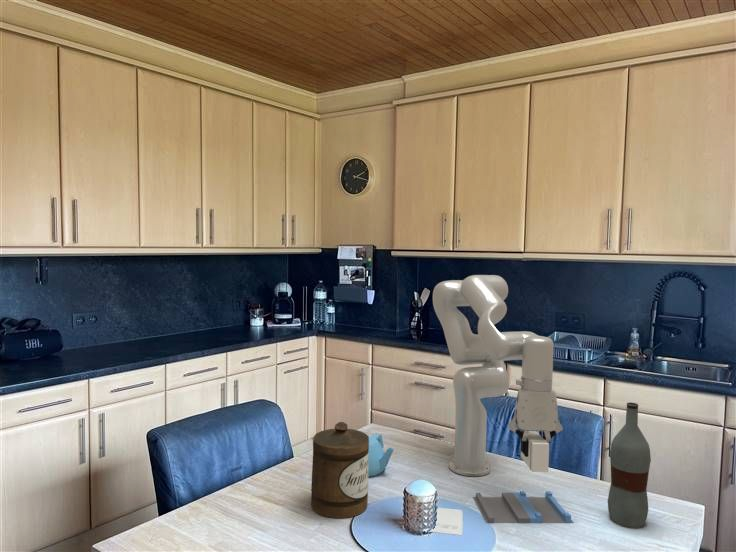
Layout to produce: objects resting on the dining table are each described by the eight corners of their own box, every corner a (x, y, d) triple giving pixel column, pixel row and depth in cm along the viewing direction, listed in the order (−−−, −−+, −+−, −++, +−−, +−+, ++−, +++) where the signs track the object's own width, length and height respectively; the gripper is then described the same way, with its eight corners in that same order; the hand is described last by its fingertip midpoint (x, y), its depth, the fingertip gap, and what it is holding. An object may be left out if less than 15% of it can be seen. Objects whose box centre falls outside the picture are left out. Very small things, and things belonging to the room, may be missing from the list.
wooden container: (355, 523, 133) (357, 435, 132) (301, 512, 138) (302, 427, 137) (375, 498, 147) (377, 418, 146) (325, 488, 152) (327, 411, 151)
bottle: (640, 513, 141) (646, 400, 140) (653, 531, 132) (659, 410, 131) (602, 509, 143) (607, 397, 142) (612, 527, 134) (617, 407, 133)
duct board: (472, 499, 147) (472, 490, 147) (552, 500, 148) (552, 490, 148) (486, 526, 133) (486, 515, 133) (574, 526, 134) (574, 515, 134)
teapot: (394, 478, 160) (395, 442, 159) (344, 481, 157) (345, 445, 156) (381, 458, 175) (382, 425, 174) (335, 461, 172) (336, 427, 171)
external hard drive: (462, 516, 139) (462, 541, 127) (430, 512, 141) (427, 537, 128) (463, 510, 139) (463, 534, 127) (430, 506, 141) (427, 530, 128)
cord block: (520, 456, 145) (521, 430, 144) (535, 457, 145) (536, 431, 144) (532, 471, 135) (533, 443, 134) (548, 472, 135) (549, 444, 134)
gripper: (507, 387, 135) (505, 460, 136) (574, 388, 135) (572, 461, 136) (500, 380, 143) (498, 449, 143) (563, 381, 143) (561, 450, 143)
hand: (534, 454), depth 140 cm, fingers closed on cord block, 4 cm apart
